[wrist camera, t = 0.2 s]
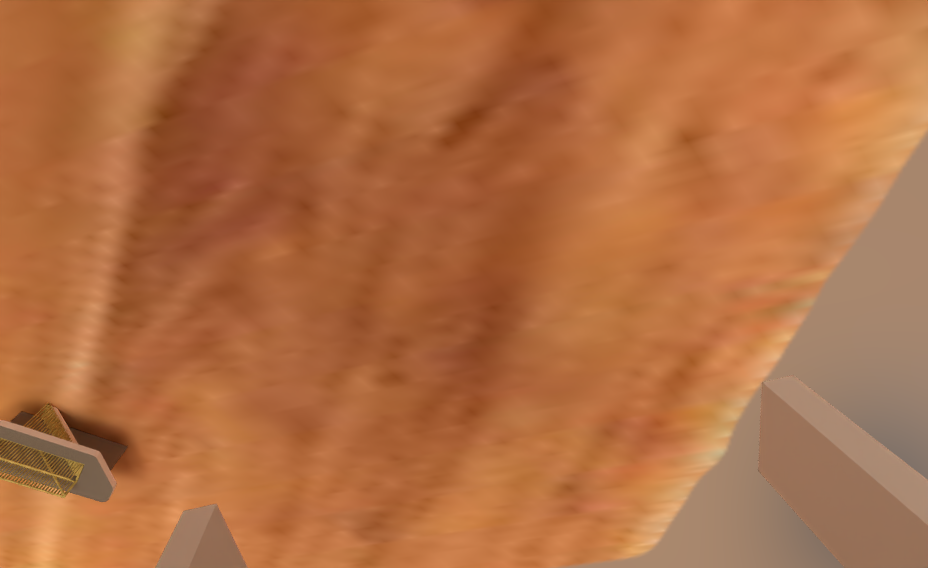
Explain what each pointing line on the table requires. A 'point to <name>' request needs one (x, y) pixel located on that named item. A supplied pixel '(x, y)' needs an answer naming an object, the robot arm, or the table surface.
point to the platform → (57, 456)
